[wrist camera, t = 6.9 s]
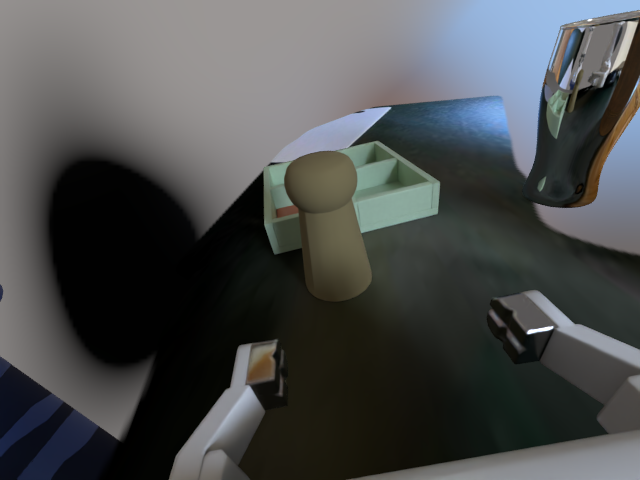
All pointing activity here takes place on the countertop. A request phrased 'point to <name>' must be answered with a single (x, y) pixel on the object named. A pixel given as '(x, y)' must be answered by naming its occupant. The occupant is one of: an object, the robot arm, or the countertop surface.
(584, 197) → the beer glass
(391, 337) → the countertop surface
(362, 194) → the compartment tray
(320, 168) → the cork
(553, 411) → the countertop surface
